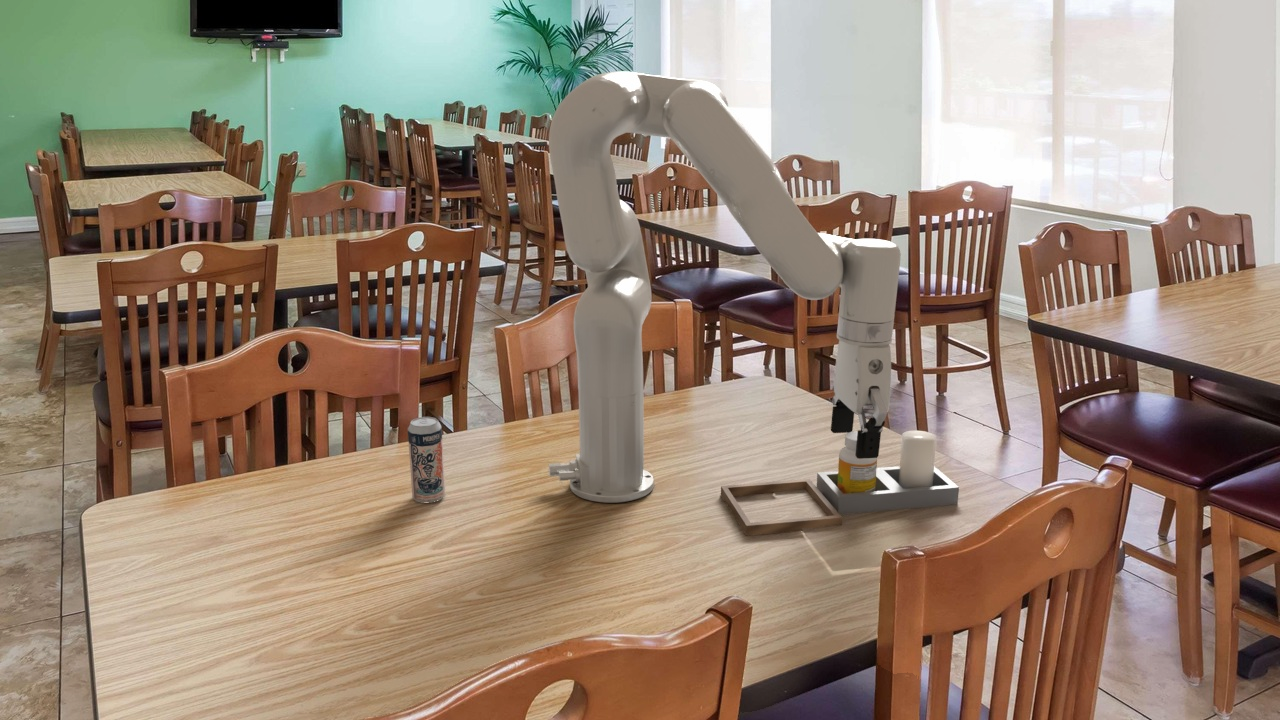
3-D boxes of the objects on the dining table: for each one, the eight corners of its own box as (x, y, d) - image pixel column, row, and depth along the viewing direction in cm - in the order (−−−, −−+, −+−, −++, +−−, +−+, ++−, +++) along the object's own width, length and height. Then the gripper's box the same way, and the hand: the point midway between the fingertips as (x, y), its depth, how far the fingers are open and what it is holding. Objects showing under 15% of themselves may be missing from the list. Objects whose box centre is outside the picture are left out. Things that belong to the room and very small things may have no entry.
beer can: (413, 506, 156) (408, 428, 153) (411, 493, 160) (406, 417, 157) (447, 503, 157) (442, 425, 154) (444, 490, 162) (439, 414, 158)
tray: (746, 535, 147) (746, 525, 146) (720, 495, 159) (720, 485, 159) (841, 527, 149) (842, 517, 149) (809, 488, 162) (809, 478, 161)
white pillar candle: (906, 501, 156) (910, 443, 153) (892, 488, 161) (896, 431, 158) (937, 499, 157) (942, 441, 154) (923, 486, 161) (927, 429, 159)
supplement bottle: (835, 490, 160) (838, 428, 157) (872, 491, 160) (876, 429, 157) (838, 505, 155) (841, 442, 152) (876, 507, 154) (880, 443, 152)
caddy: (838, 516, 152) (839, 497, 151) (816, 491, 161) (817, 472, 160) (957, 506, 155) (959, 487, 155) (929, 482, 164) (931, 463, 163)
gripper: (916, 346, 142) (903, 467, 147) (866, 312, 159) (856, 422, 164) (862, 347, 141) (851, 469, 146) (818, 313, 157) (808, 424, 162)
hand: (853, 444), depth 155 cm, fingers open, 9 cm apart
